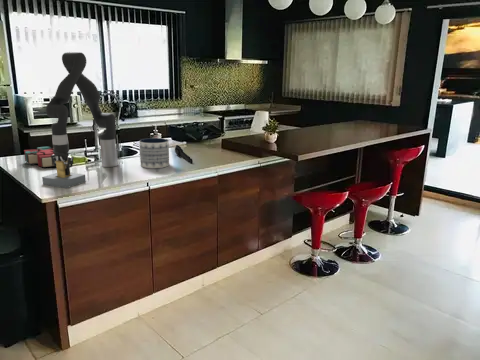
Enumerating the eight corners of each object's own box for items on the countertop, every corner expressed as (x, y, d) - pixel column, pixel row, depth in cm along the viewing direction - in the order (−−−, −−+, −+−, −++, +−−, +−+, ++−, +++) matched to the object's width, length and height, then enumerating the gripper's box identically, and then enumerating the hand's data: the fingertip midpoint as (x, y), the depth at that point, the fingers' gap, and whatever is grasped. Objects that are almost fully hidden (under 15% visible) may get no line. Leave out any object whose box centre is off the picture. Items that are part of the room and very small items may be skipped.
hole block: (63, 178, 220) (63, 171, 219) (85, 181, 214) (85, 174, 213) (42, 184, 207) (42, 177, 206) (65, 188, 201) (64, 180, 200)
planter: (137, 168, 245) (135, 142, 240) (145, 161, 262) (143, 137, 258) (165, 169, 244) (164, 143, 240) (171, 162, 262) (171, 138, 257)
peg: (64, 177, 213) (62, 159, 210) (70, 178, 211) (68, 160, 208) (57, 179, 209) (55, 160, 206) (64, 180, 207) (62, 161, 204)
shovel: (194, 164, 260) (194, 153, 258) (189, 164, 259) (189, 153, 257) (178, 153, 291) (178, 143, 289) (173, 154, 289) (173, 144, 287)
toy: (73, 167, 249) (63, 156, 272) (72, 153, 246) (61, 143, 269) (31, 172, 235) (23, 160, 258) (29, 157, 233) (22, 146, 256)
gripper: (76, 143, 205) (79, 174, 210) (56, 140, 211) (59, 171, 215) (65, 145, 199) (68, 177, 203) (44, 142, 204) (48, 174, 209)
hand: (63, 174), depth 209 cm, fingers closed on peg, 4 cm apart
